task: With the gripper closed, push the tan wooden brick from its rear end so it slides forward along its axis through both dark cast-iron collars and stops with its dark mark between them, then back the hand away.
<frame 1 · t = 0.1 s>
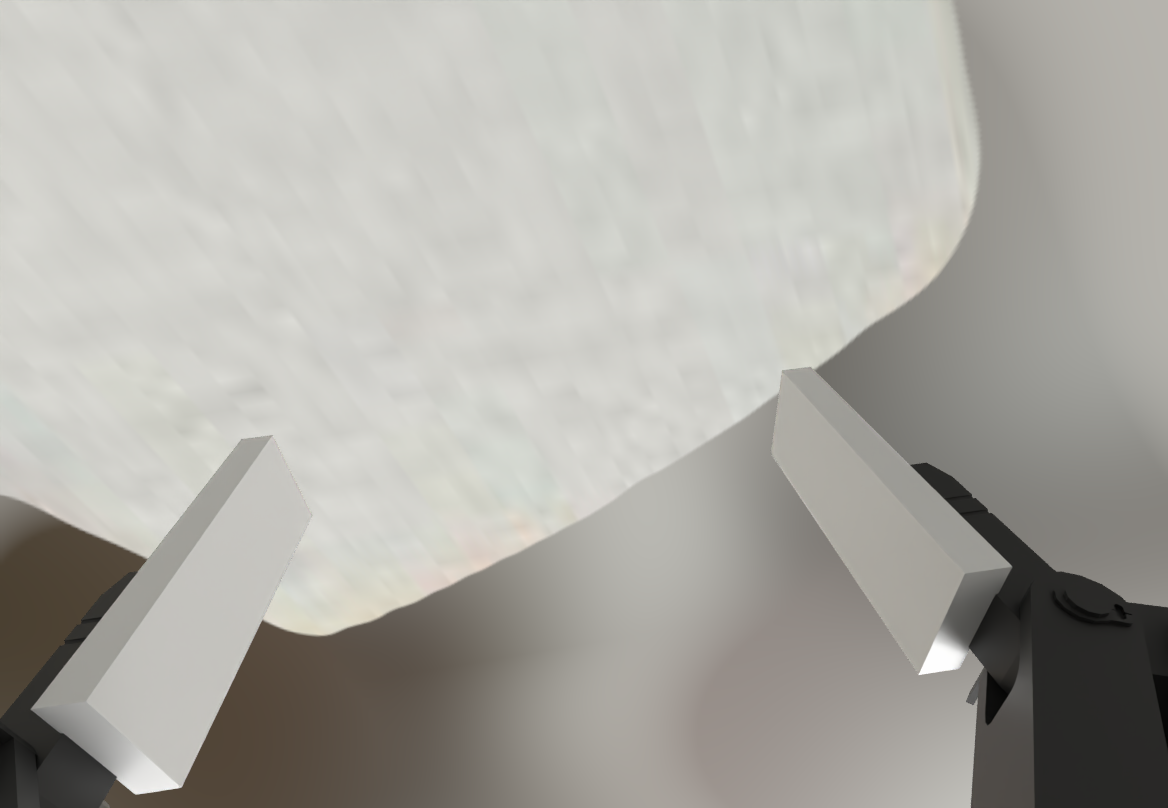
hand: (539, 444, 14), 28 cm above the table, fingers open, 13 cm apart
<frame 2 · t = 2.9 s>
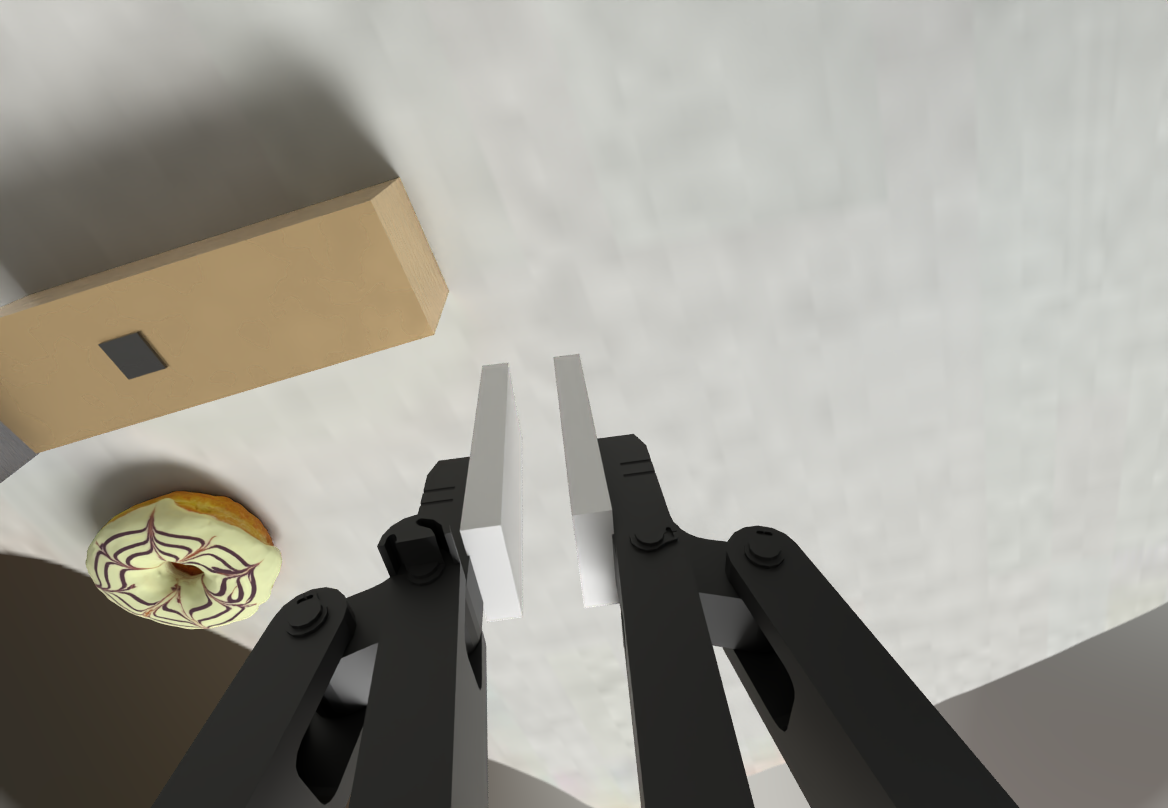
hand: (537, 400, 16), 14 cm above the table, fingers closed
decorated donut: (207, 539, 36), on the table
tan wooden brick: (248, 291, 28), on the table
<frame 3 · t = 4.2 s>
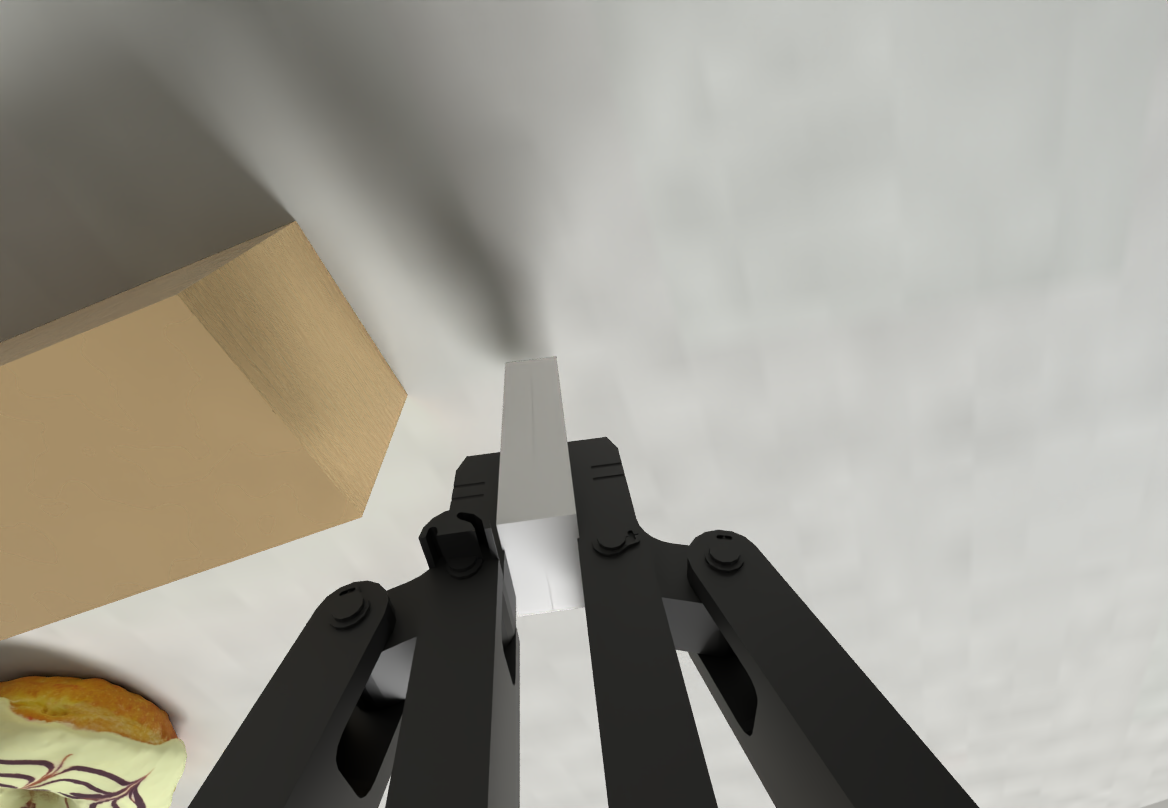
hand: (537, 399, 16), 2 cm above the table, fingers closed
decorated donut: (84, 721, 26), on the table
tan wooden brick: (86, 418, 17), on the table
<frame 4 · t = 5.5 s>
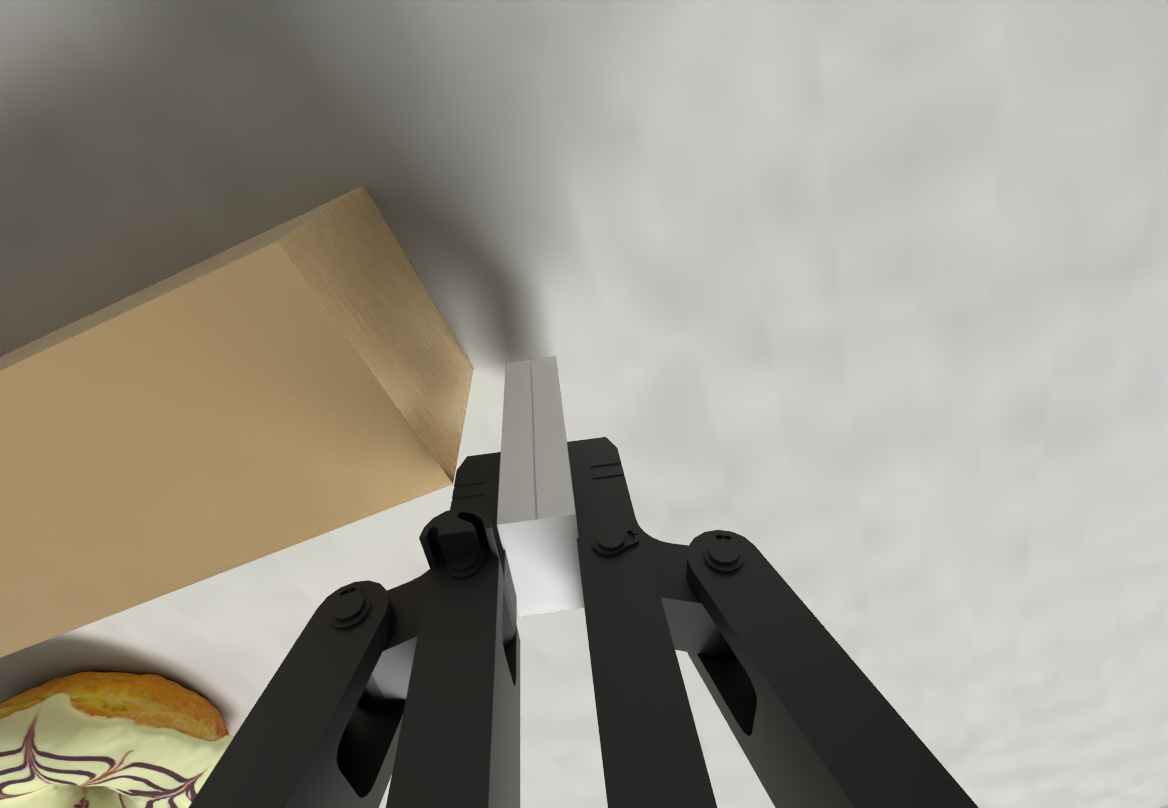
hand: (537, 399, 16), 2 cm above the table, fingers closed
decorated donut: (134, 718, 26), on the table
tan wooden brick: (149, 404, 17), on the table, touching gripper
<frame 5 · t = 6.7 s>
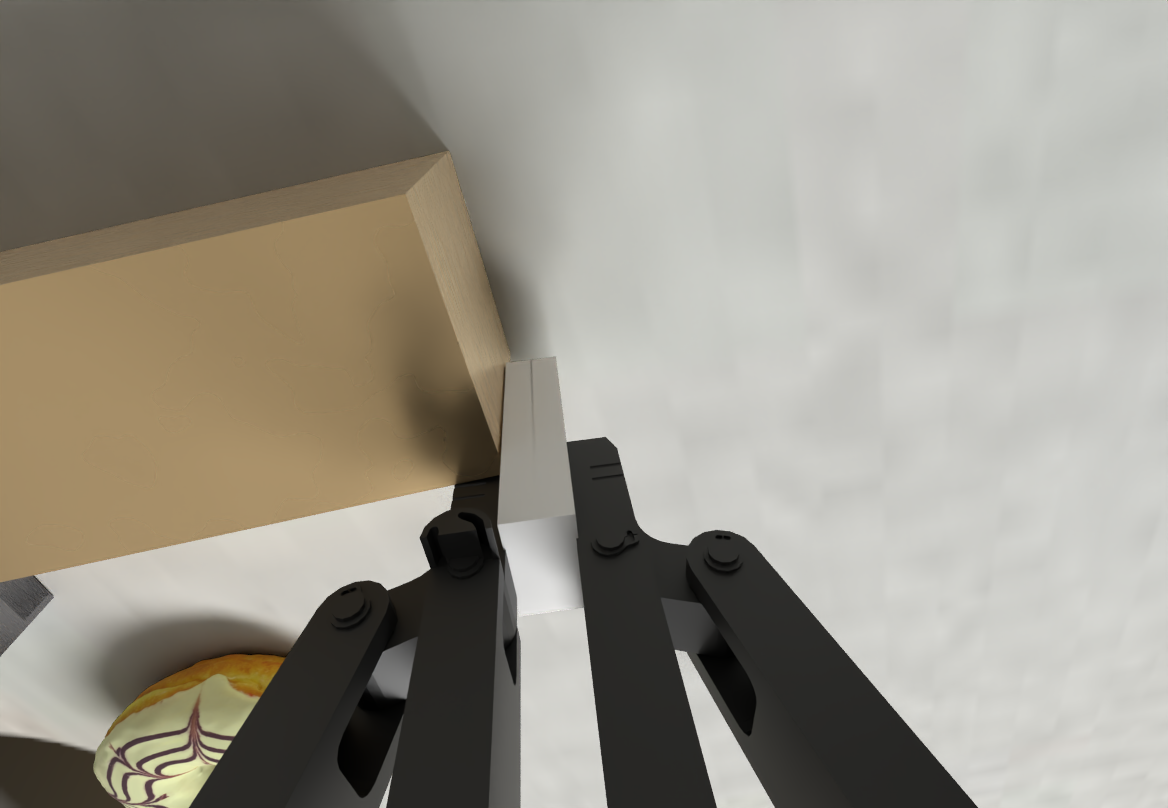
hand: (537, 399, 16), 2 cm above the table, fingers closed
decorated donut: (264, 702, 26), on the table
tan wooden brick: (149, 336, 15), on the table, touching gripper
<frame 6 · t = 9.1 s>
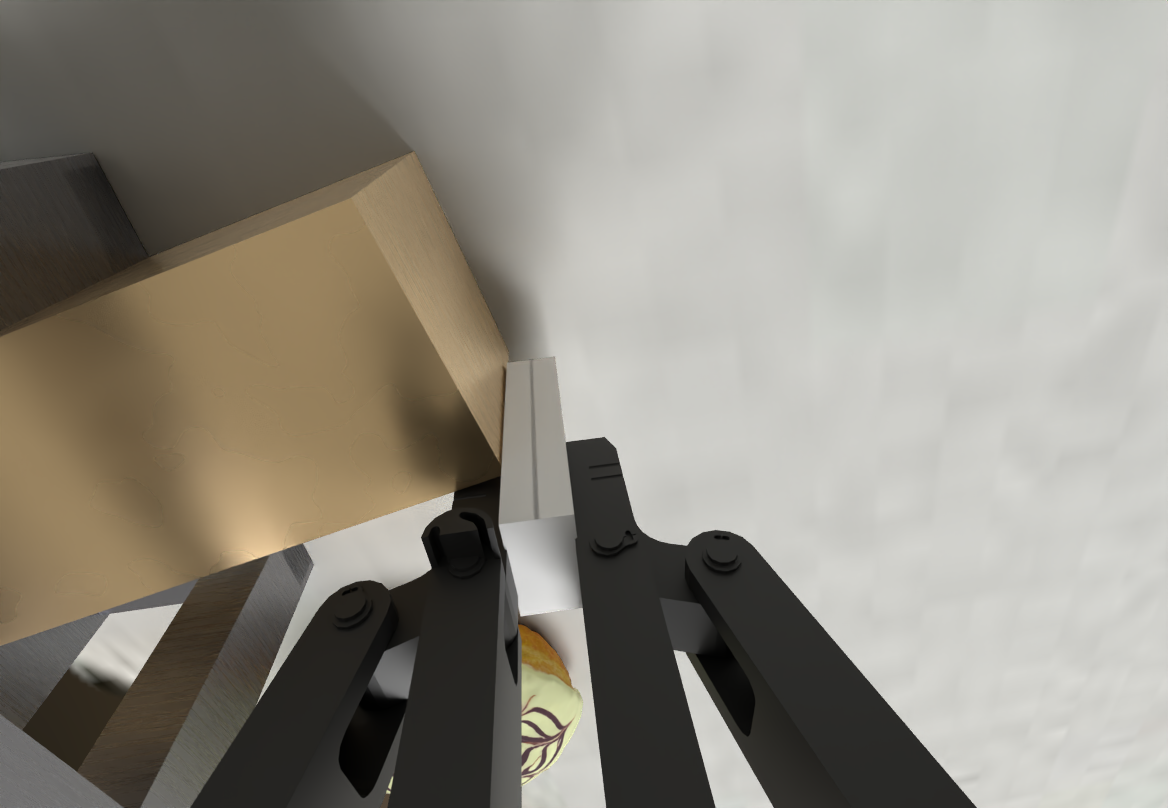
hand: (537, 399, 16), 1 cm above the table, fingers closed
decorated donut: (467, 673, 26), on the table
tan wooden brick: (156, 379, 15), on the table, touching firebox collars, gripper
firebox collars: (79, 427, 16), on the table
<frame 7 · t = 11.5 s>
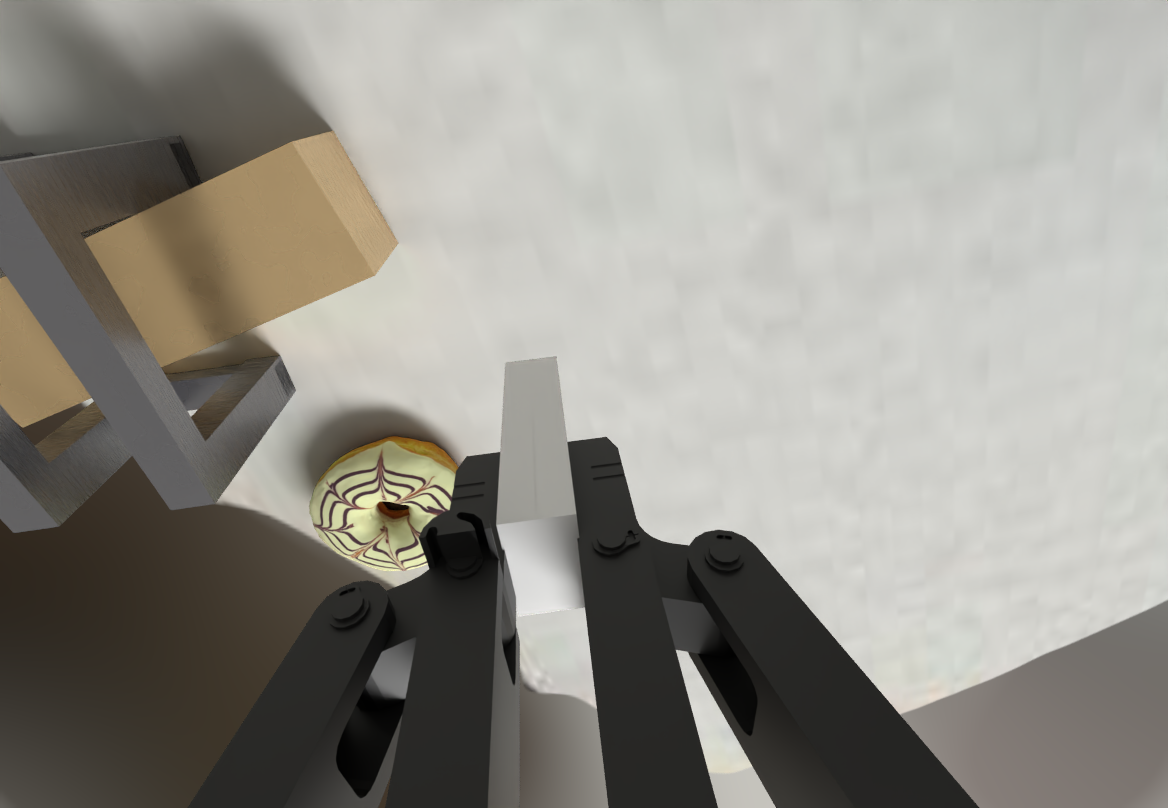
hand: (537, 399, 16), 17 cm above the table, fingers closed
decorated donut: (401, 486, 38), on the table
tan wooden brick: (208, 261, 29), on the table
firebox collars: (163, 290, 29), on the table
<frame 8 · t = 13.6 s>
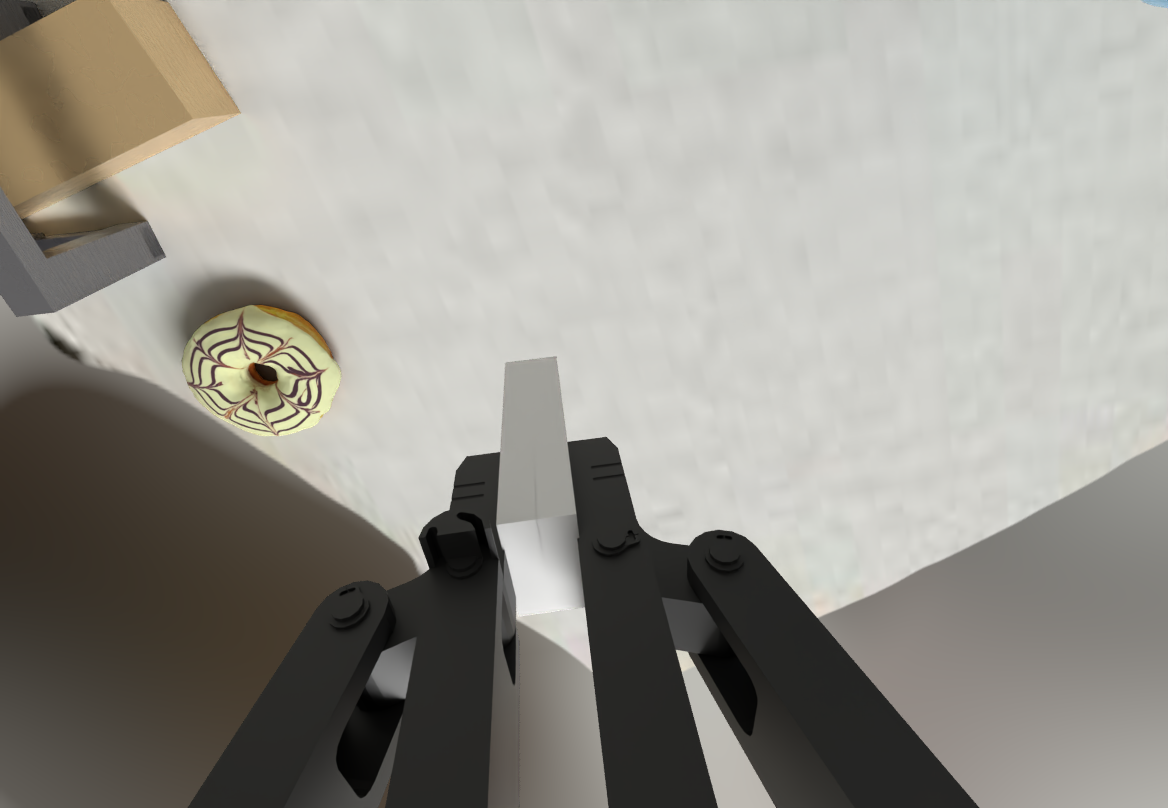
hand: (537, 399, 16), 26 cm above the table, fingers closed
decorated donut: (276, 360, 43), on the table
tan wooden brick: (74, 128, 33), on the table
firebox collars: (35, 152, 33), on the table
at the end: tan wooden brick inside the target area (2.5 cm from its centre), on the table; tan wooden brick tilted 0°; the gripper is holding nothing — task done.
